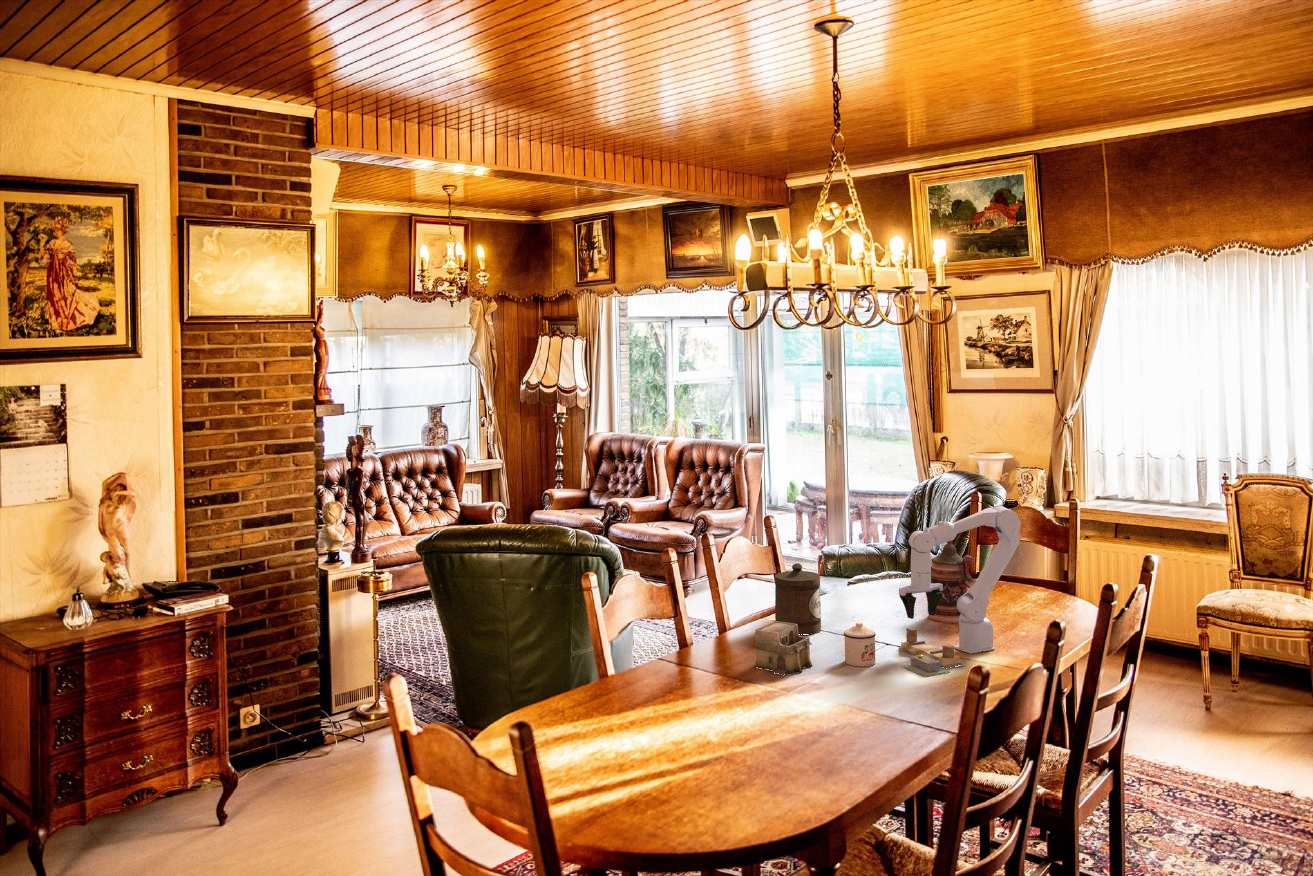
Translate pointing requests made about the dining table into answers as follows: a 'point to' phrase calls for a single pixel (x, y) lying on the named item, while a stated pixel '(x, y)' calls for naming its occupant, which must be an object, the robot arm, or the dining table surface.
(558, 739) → the dining table surface
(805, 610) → the wooden container
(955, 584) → the beer stein
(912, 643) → the plane body
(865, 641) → the teacup with lid
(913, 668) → the felt pad
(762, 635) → the miniature house
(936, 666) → the lever cap
